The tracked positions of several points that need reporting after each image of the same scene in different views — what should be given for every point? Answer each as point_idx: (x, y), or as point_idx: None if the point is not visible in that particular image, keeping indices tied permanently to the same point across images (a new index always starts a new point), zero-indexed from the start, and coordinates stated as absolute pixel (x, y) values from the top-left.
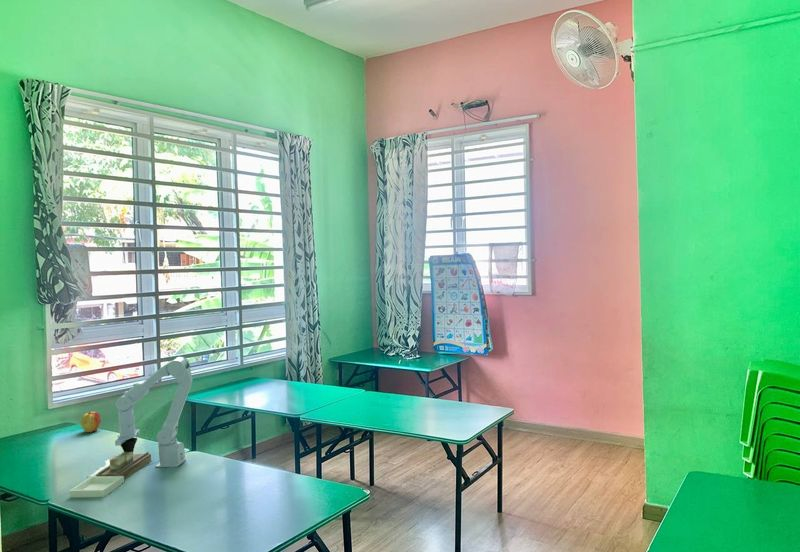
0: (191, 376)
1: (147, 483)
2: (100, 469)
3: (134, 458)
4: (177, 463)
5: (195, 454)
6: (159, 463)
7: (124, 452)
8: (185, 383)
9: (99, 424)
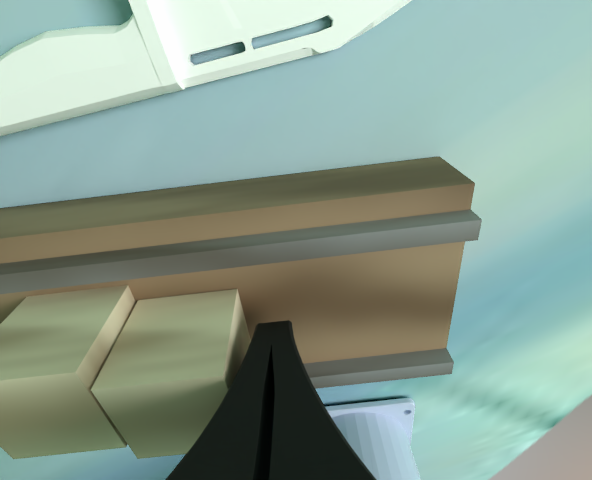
0: None
1: (93, 471)
2: (88, 73)
3: (327, 325)
4: None
5: (484, 463)
6: (337, 414)
7: (208, 397)
8: None
9: None
